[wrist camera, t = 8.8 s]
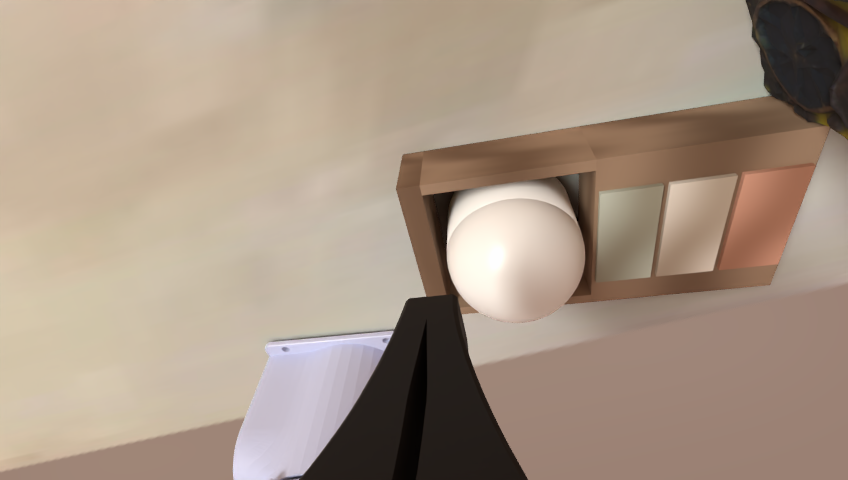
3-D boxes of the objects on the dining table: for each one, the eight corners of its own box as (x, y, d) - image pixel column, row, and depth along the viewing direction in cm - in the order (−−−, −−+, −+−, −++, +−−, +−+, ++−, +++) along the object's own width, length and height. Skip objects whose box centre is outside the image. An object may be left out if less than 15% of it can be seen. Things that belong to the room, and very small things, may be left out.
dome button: (457, 266, 24) (458, 356, 20) (438, 172, 21) (432, 255, 16) (569, 253, 23) (598, 345, 19) (569, 152, 20) (604, 235, 15)
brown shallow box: (434, 277, 26) (432, 319, 23) (402, 154, 21) (395, 191, 18) (738, 244, 23) (772, 287, 20) (782, 94, 18) (835, 127, 16)
